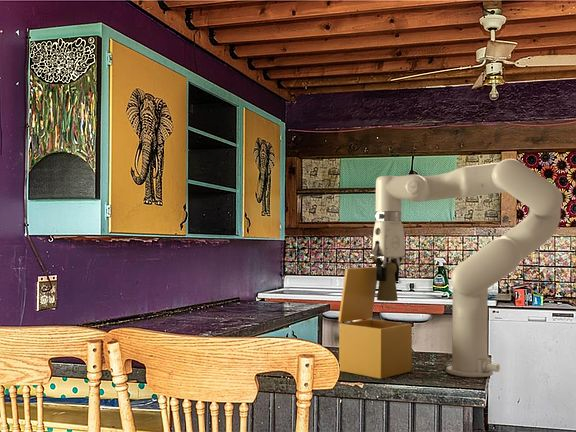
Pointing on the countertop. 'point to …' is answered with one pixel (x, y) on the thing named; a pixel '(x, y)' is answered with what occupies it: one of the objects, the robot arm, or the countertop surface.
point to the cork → (388, 284)
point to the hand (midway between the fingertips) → (387, 279)
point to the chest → (375, 348)
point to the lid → (358, 294)
